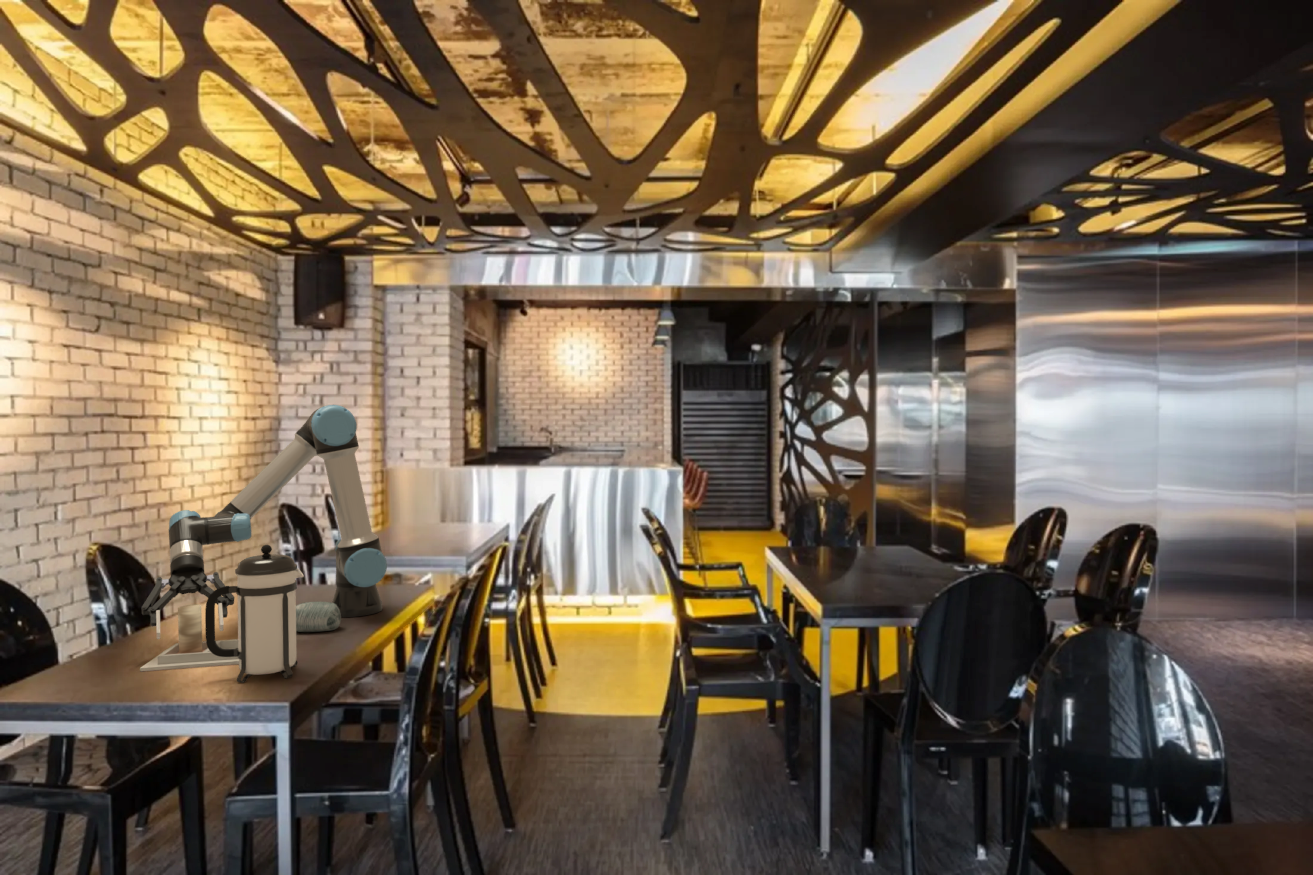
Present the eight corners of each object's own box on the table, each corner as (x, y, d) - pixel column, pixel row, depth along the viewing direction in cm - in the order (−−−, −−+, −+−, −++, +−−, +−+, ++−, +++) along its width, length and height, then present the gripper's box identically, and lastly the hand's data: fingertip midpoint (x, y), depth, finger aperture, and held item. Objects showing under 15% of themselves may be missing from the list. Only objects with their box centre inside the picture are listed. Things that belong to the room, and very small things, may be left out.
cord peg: (205, 651, 197) (204, 603, 196) (198, 656, 192) (197, 608, 192) (183, 653, 195) (182, 605, 195) (175, 658, 191) (174, 609, 190)
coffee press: (275, 660, 191) (274, 538, 191) (317, 670, 183) (315, 542, 183) (204, 680, 176) (202, 547, 176) (245, 691, 168) (244, 552, 168)
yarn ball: (350, 613, 227) (335, 587, 222) (340, 636, 218) (324, 609, 214) (307, 624, 228) (290, 599, 223) (295, 647, 219) (278, 621, 215)
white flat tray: (276, 645, 205) (276, 634, 205) (260, 662, 190) (260, 651, 190) (166, 653, 199) (165, 642, 199) (140, 671, 184) (139, 659, 184)
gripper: (239, 566, 213) (246, 632, 200) (130, 576, 199) (130, 648, 187) (241, 548, 208) (248, 616, 196) (129, 557, 195) (129, 630, 182)
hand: (190, 631), depth 191 cm, fingers open, 13 cm apart
